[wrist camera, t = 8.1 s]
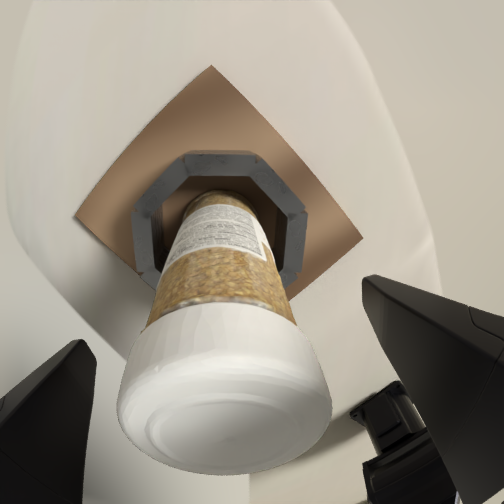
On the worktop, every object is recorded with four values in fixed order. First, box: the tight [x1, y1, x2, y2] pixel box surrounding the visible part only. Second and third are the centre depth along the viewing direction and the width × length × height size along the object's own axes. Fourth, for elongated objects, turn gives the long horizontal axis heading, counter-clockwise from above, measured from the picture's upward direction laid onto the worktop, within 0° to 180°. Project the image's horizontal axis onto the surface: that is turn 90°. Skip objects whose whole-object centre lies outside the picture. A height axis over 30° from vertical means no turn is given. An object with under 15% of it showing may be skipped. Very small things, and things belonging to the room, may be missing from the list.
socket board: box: [75, 65, 363, 301], centre depth 18 cm, size 14×12×1 cm
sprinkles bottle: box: [117, 189, 332, 475], centre depth 11 cm, size 5×5×14 cm
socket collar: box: [131, 150, 308, 290], centre depth 16 cm, size 9×9×3 cm
